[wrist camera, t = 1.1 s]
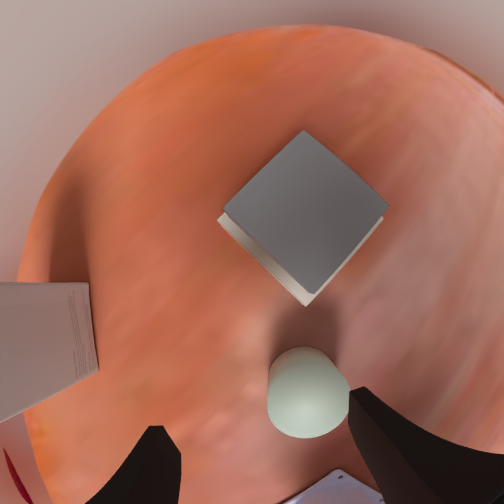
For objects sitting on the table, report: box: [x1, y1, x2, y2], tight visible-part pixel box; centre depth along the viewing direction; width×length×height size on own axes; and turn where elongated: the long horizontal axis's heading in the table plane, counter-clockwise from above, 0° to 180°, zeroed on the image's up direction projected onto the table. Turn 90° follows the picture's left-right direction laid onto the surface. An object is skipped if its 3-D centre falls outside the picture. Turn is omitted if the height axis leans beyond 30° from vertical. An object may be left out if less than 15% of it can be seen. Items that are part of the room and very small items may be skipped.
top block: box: [223, 130, 390, 294], centre depth 17 cm, size 7×7×2 cm
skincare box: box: [0, 282, 99, 423], centre depth 13 cm, size 8×6×15 cm
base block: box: [217, 212, 384, 307], centre depth 19 cm, size 8×8×3 cm
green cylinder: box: [267, 346, 351, 438], centre depth 17 cm, size 5×5×5 cm
